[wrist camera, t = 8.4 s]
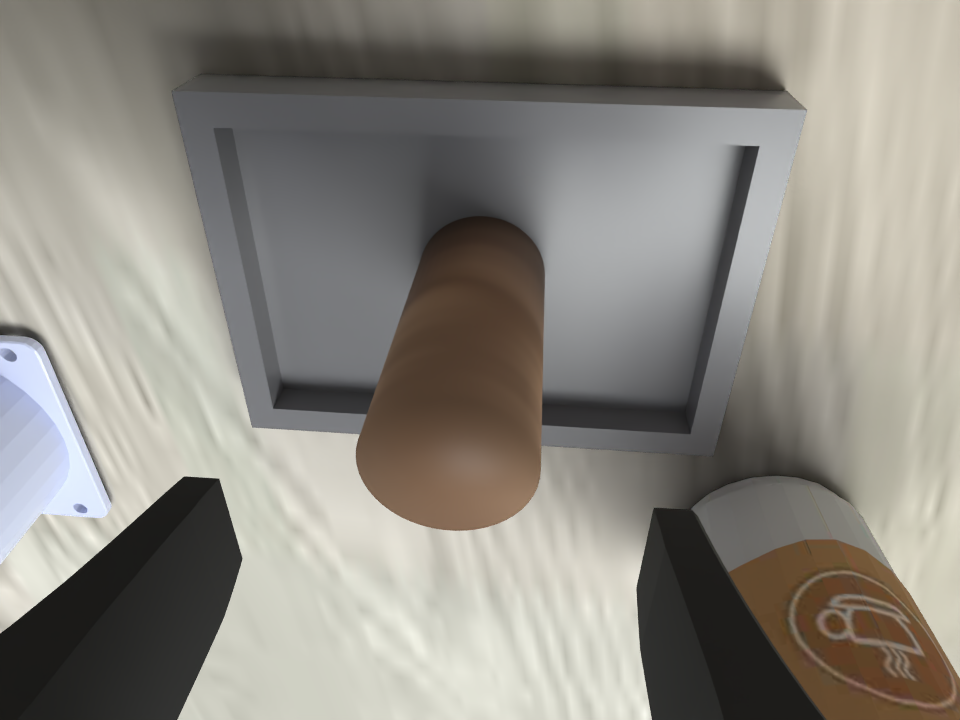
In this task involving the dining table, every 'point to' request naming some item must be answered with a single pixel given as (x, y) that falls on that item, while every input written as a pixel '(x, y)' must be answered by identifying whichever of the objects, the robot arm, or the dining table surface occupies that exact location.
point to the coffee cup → (829, 601)
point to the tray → (504, 195)
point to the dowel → (462, 383)
